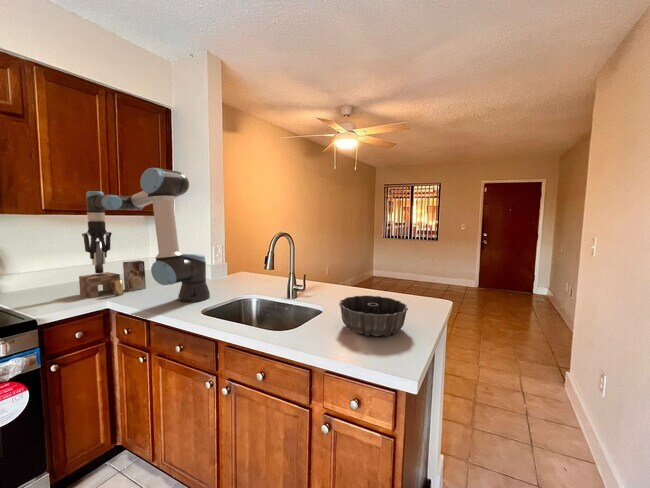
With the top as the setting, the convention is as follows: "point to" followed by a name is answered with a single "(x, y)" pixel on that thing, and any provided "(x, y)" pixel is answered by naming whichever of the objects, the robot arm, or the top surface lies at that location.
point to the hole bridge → (97, 283)
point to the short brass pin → (118, 287)
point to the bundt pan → (373, 314)
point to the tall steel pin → (98, 257)
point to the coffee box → (134, 275)
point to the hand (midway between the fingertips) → (98, 264)
